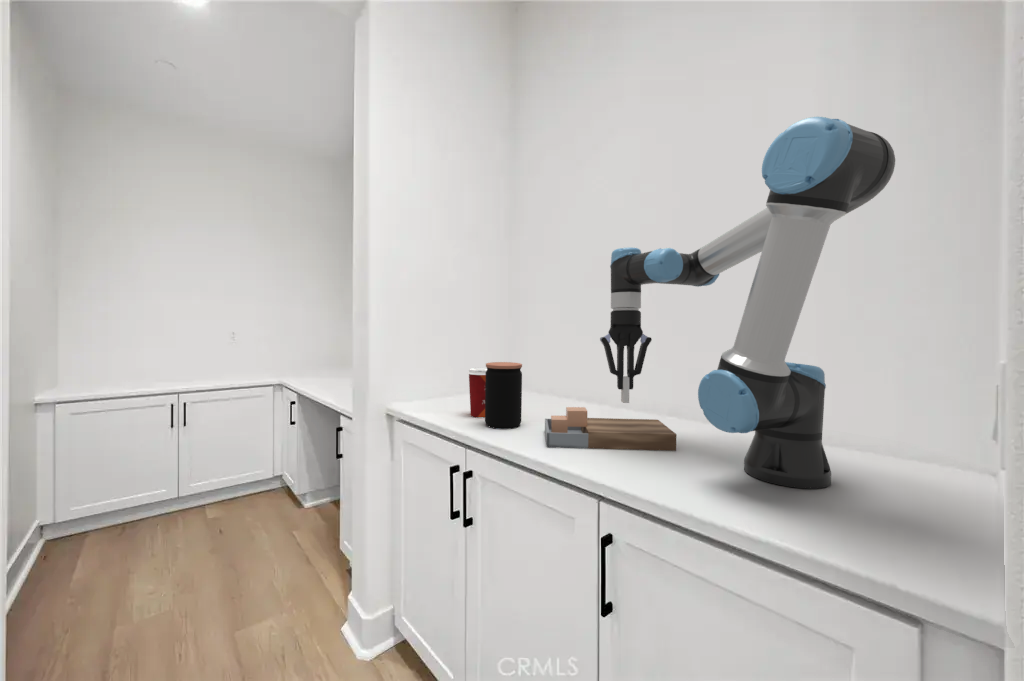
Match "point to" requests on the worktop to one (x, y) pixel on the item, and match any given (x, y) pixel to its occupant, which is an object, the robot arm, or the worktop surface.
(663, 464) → the worktop surface
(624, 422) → the board
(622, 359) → the robot arm
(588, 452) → the worktop surface
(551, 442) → the tray
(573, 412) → the tile
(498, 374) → the coffee jar
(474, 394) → the coffee cup
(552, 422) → the tile
